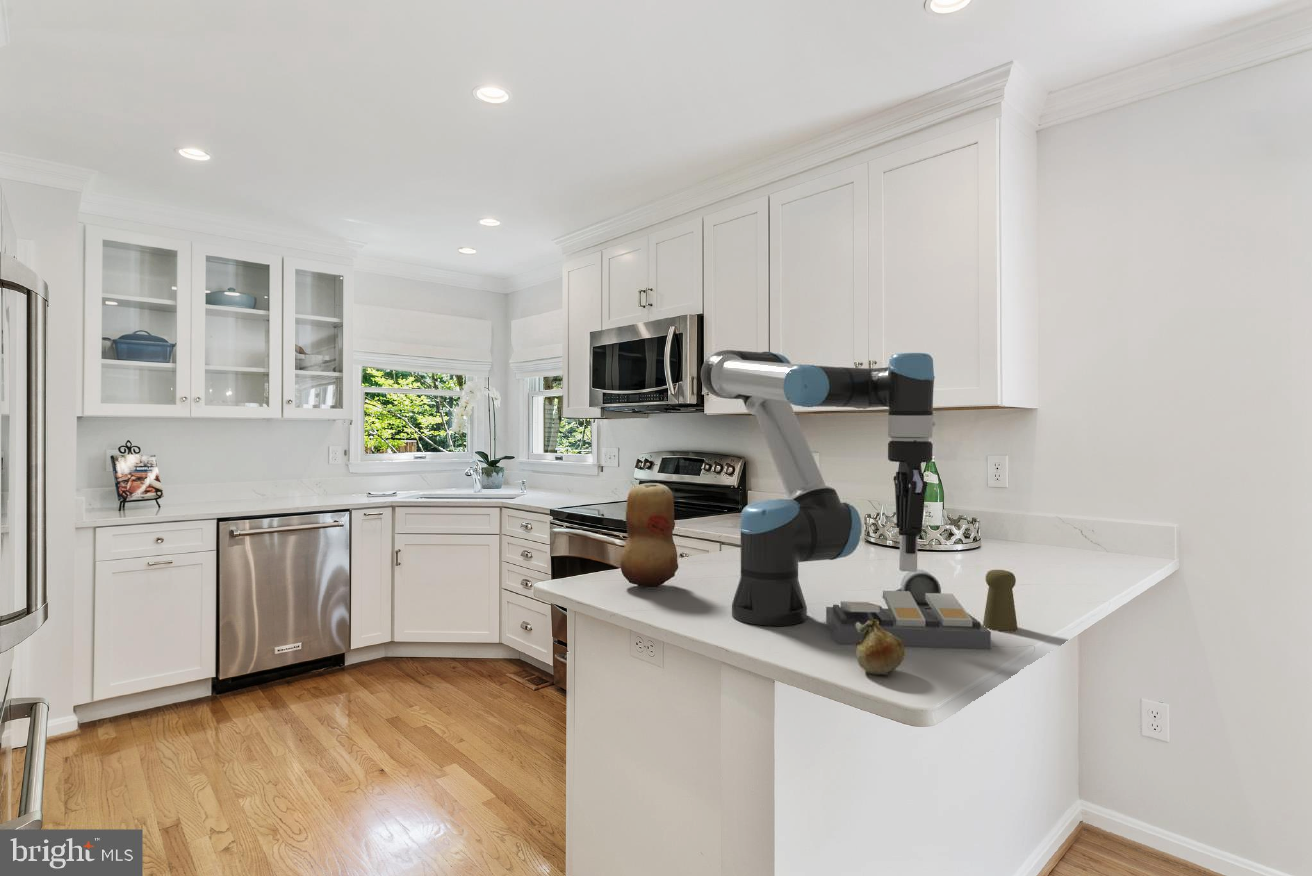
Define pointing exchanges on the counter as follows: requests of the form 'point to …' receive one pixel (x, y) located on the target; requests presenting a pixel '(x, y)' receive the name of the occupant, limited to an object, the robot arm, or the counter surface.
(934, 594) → the right rocker
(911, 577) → the ceramic mug
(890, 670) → the onion
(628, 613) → the counter surface
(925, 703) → the counter surface
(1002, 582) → the cork
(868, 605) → the left rocker
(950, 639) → the rocker switch panel
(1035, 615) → the counter surface
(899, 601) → the block
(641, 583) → the butternut squash
